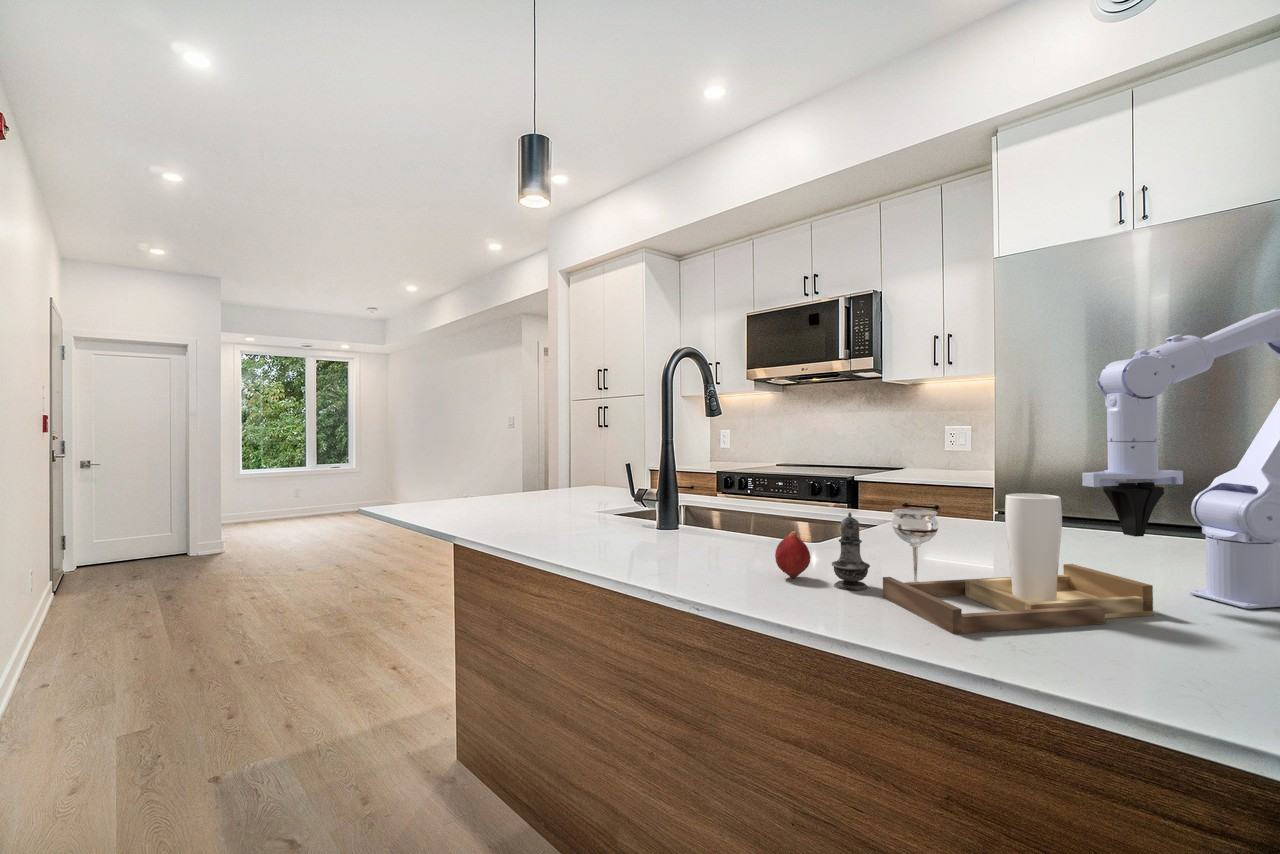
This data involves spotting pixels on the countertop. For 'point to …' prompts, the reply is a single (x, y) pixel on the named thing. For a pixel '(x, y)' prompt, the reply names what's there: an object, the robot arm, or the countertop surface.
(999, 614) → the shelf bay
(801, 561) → the onion
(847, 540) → the salt shaker
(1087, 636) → the countertop surface
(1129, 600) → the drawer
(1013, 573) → the drinking glass
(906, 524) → the wineglass
